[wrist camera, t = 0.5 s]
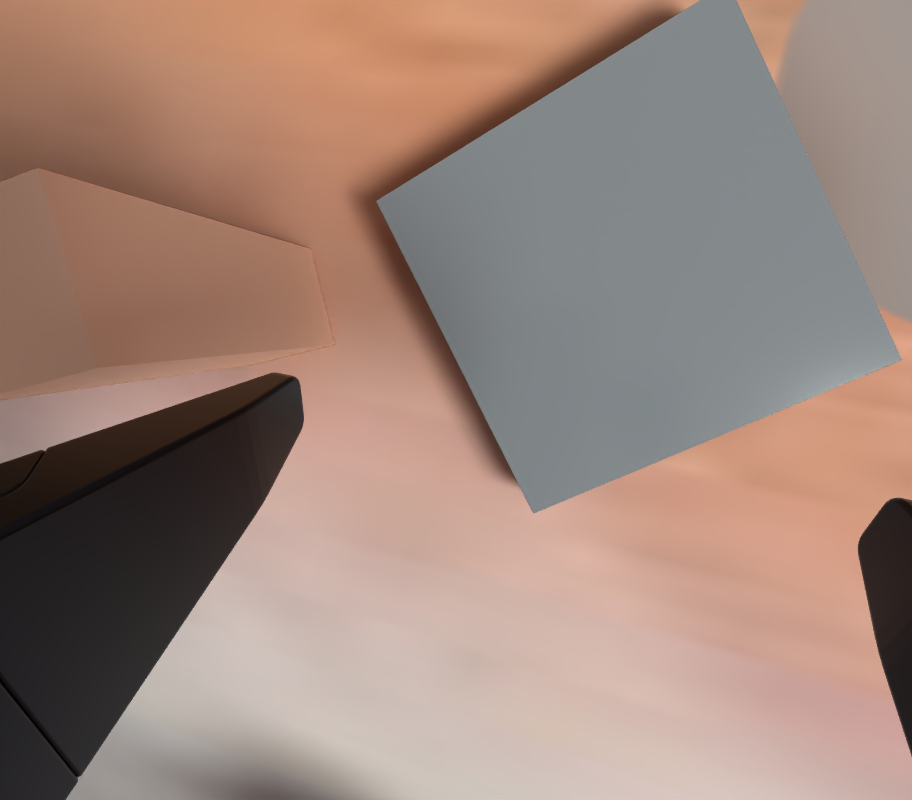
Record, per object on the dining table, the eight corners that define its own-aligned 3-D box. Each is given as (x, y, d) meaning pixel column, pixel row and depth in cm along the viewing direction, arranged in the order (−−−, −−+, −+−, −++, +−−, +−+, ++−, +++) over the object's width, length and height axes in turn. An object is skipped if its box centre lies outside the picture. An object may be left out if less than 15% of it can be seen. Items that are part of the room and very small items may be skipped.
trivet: (535, 493, 24) (533, 513, 21) (395, 213, 23) (376, 201, 21) (860, 355, 20) (902, 359, 18) (707, 24, 20) (728, -18, 17)
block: (335, 344, 24) (97, 367, 12) (251, 364, 25) (-51, 406, 13) (310, 248, 24) (37, 167, 11) (226, 273, 25) (-111, 223, 12)
